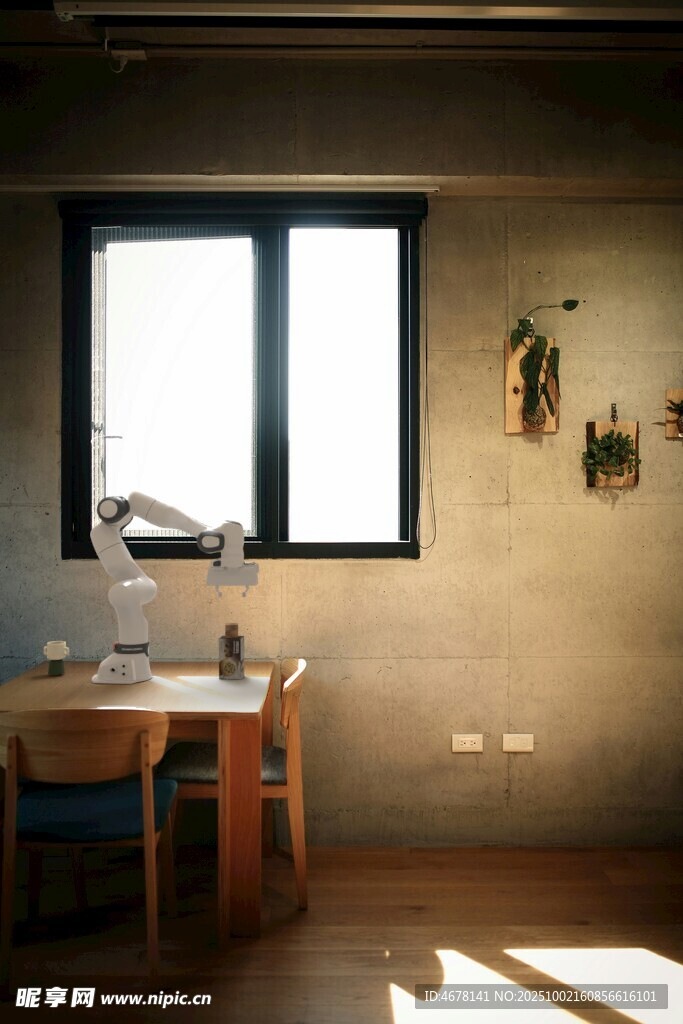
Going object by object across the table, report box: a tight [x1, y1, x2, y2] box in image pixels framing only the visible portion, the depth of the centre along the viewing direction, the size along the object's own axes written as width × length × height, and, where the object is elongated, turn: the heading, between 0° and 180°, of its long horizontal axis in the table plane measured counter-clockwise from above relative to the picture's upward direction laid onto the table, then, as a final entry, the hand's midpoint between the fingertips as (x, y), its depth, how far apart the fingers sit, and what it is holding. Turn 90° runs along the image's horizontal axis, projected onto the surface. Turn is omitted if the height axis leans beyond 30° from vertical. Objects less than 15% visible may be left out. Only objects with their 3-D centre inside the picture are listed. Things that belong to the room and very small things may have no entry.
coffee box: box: [218, 635, 245, 680], centre depth 298 cm, size 9×6×16 cm
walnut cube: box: [224, 622, 239, 638], centre depth 298 cm, size 5×5×5 cm
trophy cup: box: [43, 640, 70, 676], centre depth 300 cm, size 11×7×13 cm, turn 80°
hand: (232, 597), depth 298 cm, fingers open, 8 cm apart
